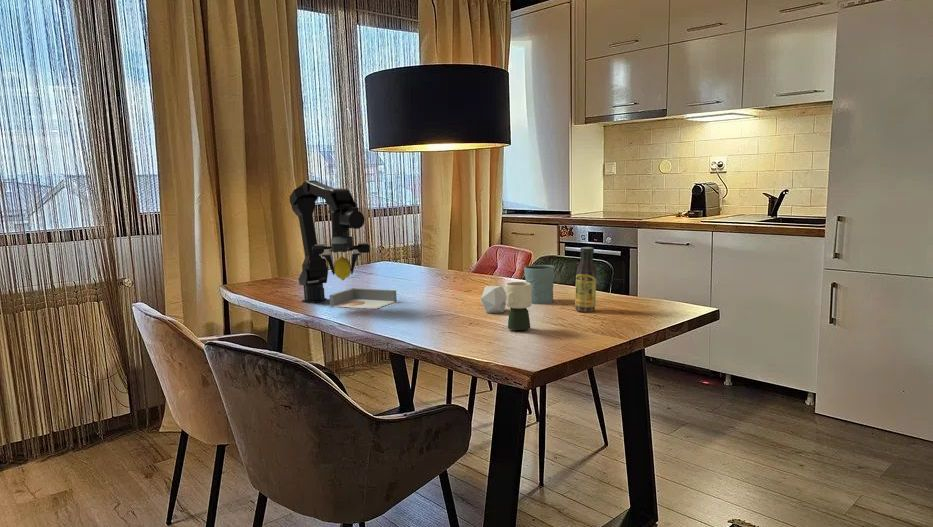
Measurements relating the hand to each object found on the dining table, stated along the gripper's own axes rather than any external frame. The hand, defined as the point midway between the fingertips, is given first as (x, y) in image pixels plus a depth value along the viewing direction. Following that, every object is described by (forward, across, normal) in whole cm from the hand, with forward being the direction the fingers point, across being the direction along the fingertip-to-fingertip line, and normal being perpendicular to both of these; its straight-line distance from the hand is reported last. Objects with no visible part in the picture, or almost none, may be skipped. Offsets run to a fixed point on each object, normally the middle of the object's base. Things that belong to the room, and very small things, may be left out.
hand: (342, 274), depth 206 cm
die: (+11, +48, -16) cm, 52 cm away
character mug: (+11, +51, -41) cm, 67 cm away
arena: (+12, +6, +6) cm, 15 cm away
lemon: (+2, 0, 0) cm, 2 cm away
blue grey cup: (+11, +65, -4) cm, 67 cm away
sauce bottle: (+11, +76, -22) cm, 80 cm away
